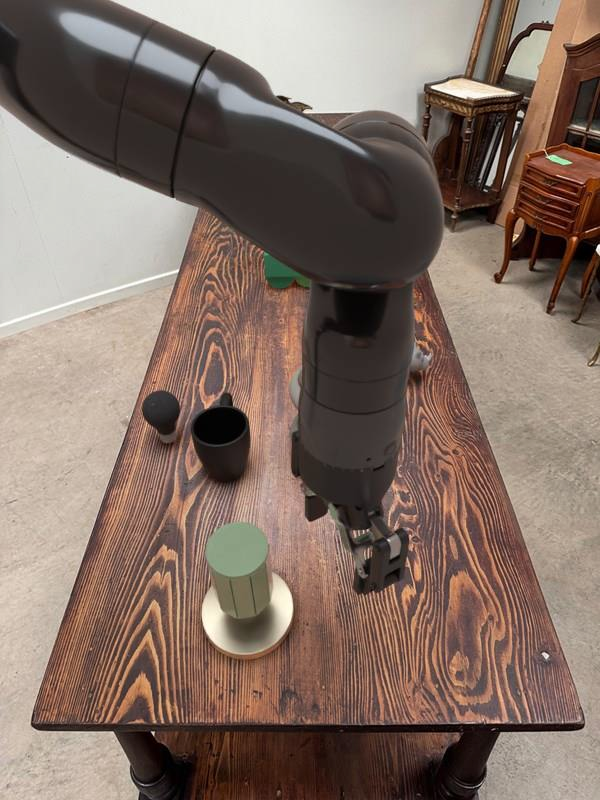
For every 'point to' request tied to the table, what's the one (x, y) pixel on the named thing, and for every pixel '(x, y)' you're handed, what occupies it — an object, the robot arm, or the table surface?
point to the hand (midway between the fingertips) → (339, 550)
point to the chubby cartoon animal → (419, 359)
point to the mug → (222, 440)
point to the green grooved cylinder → (240, 569)
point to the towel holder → (249, 624)
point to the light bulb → (162, 413)
